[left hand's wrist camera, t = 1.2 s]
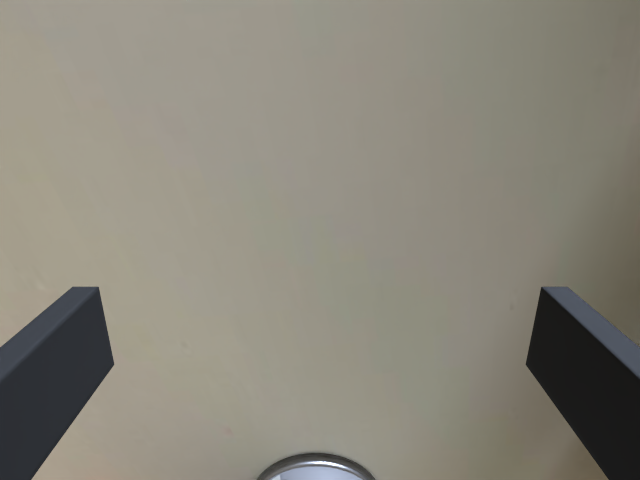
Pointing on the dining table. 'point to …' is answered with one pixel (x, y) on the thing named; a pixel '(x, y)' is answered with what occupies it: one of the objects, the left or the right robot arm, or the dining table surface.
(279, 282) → the dining table surface
